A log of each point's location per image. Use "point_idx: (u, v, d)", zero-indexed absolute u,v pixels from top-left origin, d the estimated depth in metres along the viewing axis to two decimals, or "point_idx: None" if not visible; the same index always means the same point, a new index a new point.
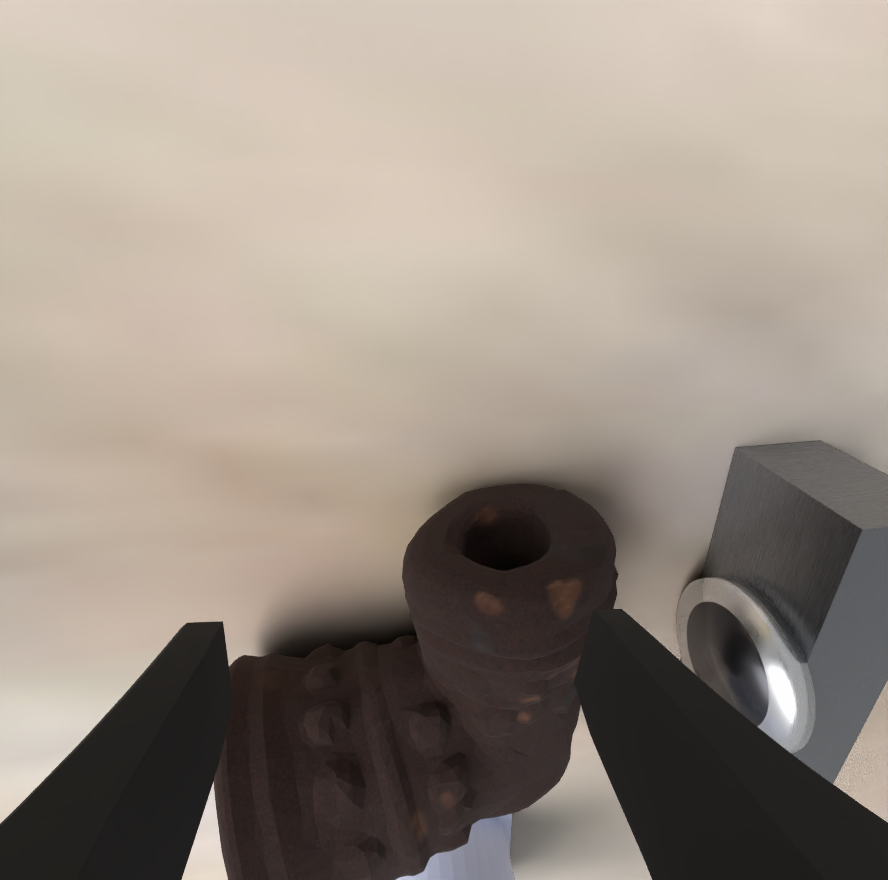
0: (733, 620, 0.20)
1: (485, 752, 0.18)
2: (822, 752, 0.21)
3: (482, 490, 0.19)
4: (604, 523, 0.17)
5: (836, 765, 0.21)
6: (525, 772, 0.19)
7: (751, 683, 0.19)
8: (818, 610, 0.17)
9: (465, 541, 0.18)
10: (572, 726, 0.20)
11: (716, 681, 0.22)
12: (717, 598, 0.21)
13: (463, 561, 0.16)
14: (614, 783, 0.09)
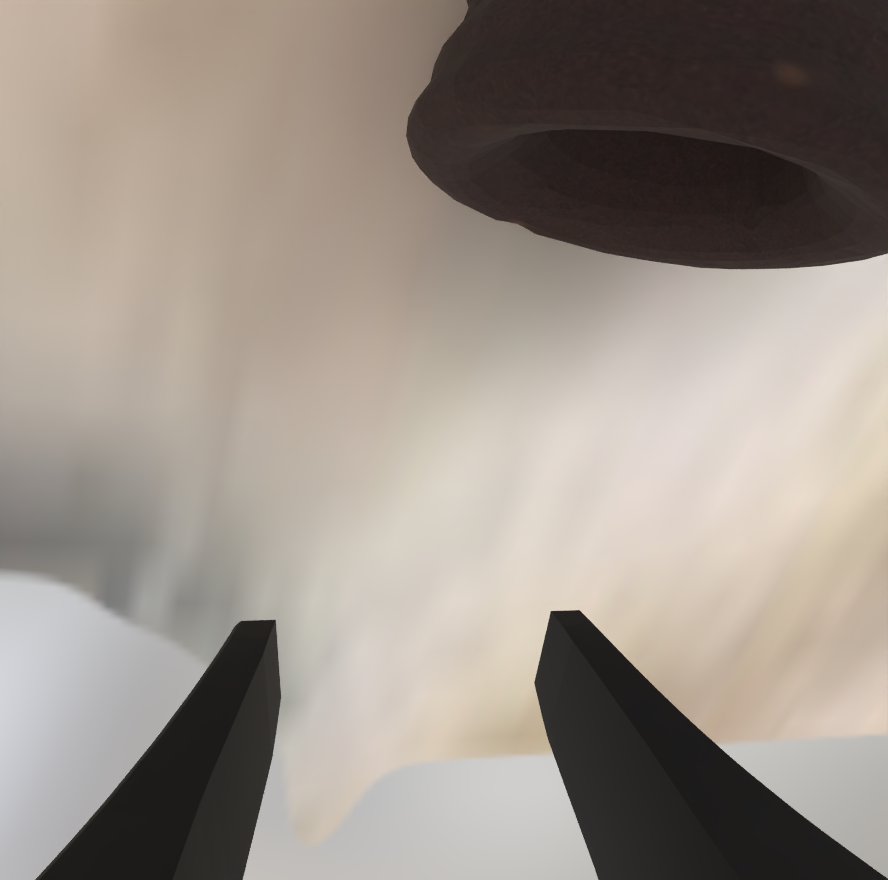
0: None
1: None
2: None
3: None
4: None
5: None
6: None
7: None
8: None
9: None
10: None
11: None
12: None
13: None
14: (568, 787, 0.09)
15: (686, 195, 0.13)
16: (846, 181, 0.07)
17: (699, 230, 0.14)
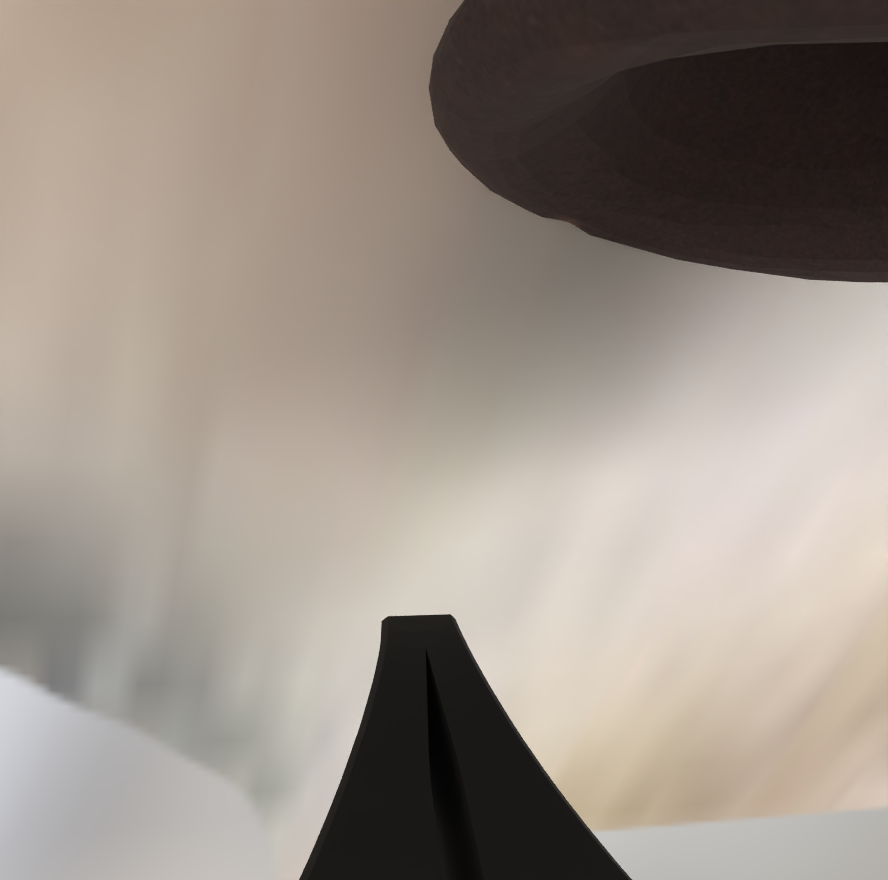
0: None
1: None
2: None
3: None
4: None
5: None
6: None
7: None
8: None
9: None
10: None
11: None
12: None
13: None
14: None
15: (808, 181, 0.10)
16: None
17: (821, 229, 0.10)
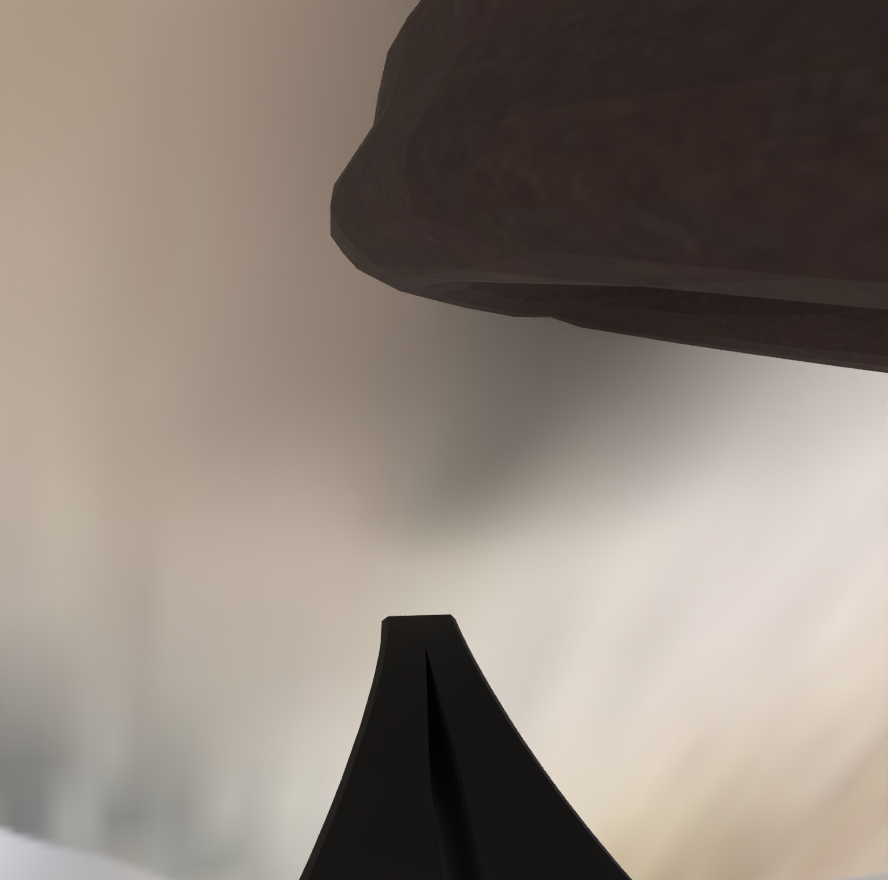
0: None
1: None
2: None
3: None
4: None
5: None
6: None
7: None
8: None
9: None
10: None
11: None
12: None
13: None
14: None
15: None
16: None
17: (855, 322, 0.08)
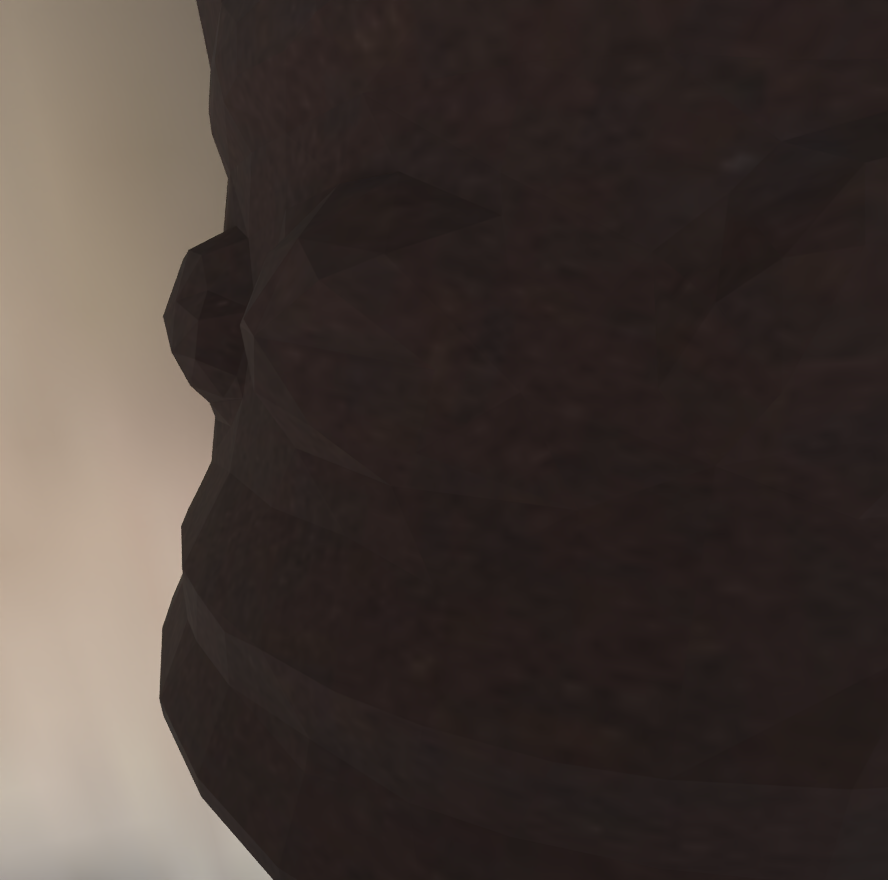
0: None
1: None
2: None
3: None
4: None
5: None
6: None
7: None
8: None
9: None
10: None
11: None
12: None
13: None
14: None
15: None
16: None
17: None
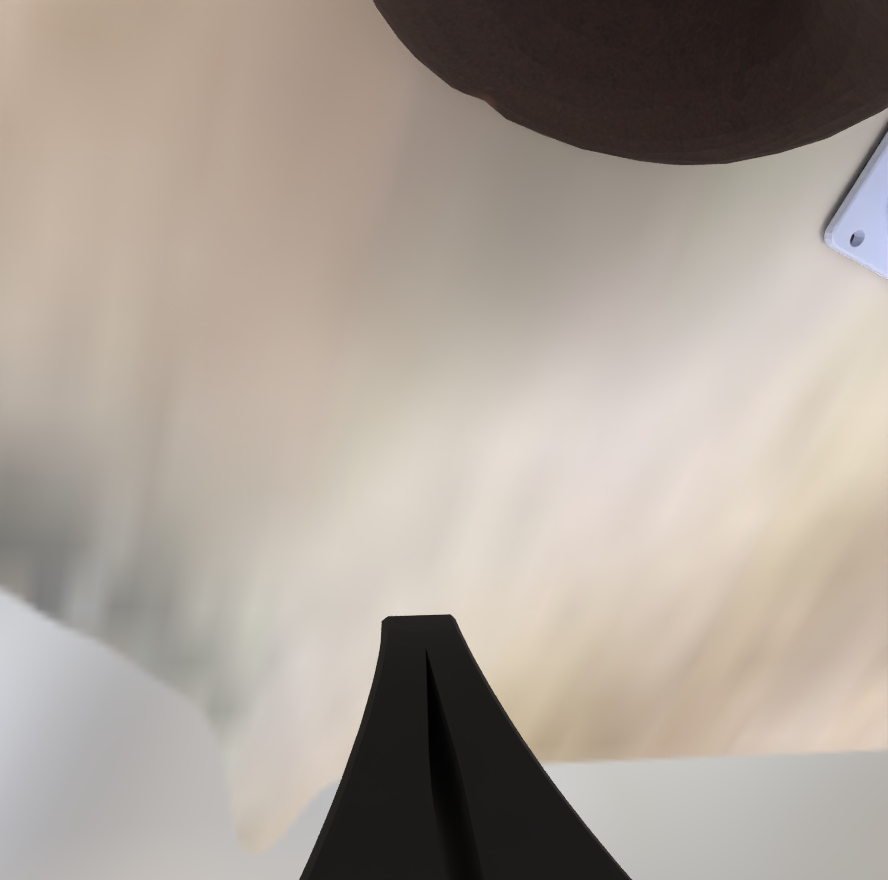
0: None
1: None
2: None
3: None
4: None
5: None
6: None
7: None
8: None
9: None
10: None
11: None
12: None
13: None
14: None
15: (670, 66, 0.12)
16: None
17: (683, 110, 0.12)
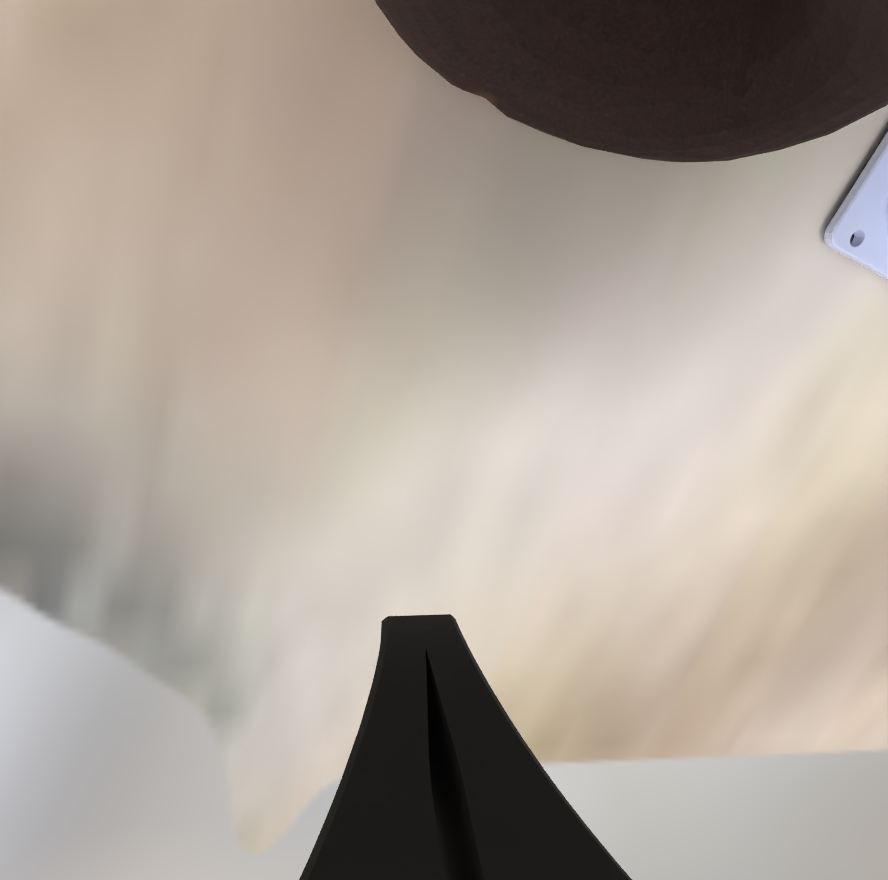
0: None
1: None
2: None
3: None
4: None
5: None
6: None
7: None
8: None
9: None
10: None
11: None
12: None
13: None
14: None
15: (672, 63, 0.12)
16: None
17: (684, 107, 0.12)
